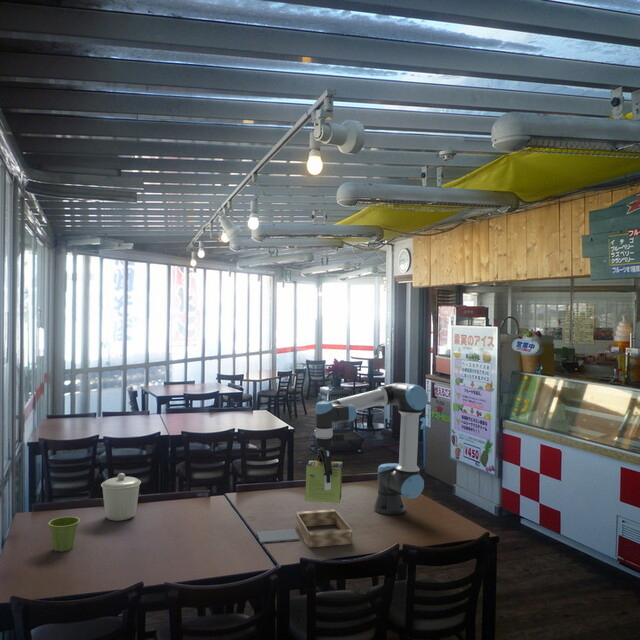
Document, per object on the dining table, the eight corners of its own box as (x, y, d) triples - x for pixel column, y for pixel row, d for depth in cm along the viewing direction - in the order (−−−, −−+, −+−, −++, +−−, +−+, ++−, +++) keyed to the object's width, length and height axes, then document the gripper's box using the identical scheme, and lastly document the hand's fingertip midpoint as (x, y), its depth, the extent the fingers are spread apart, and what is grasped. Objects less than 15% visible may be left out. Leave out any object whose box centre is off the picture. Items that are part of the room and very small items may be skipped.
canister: (92, 520, 270) (92, 475, 270) (118, 509, 287) (119, 467, 287) (122, 526, 263) (123, 480, 263) (148, 514, 280) (149, 470, 280)
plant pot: (59, 556, 228) (59, 528, 228) (41, 550, 234) (42, 522, 235) (85, 547, 238) (85, 519, 238) (68, 541, 244) (68, 514, 245)
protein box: (340, 503, 249) (341, 467, 249) (304, 501, 250) (305, 465, 250) (341, 496, 259) (342, 461, 259) (307, 494, 261) (308, 459, 261)
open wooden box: (334, 521, 271) (335, 509, 271) (353, 545, 242) (354, 531, 242) (295, 525, 267) (295, 512, 267) (309, 549, 238) (309, 535, 238)
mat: (294, 530, 259) (294, 528, 260) (299, 540, 248) (299, 538, 248) (256, 533, 255) (256, 531, 255) (260, 543, 244) (260, 541, 244)
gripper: (309, 432, 266) (309, 478, 266) (322, 443, 242) (322, 494, 242) (325, 431, 268) (325, 477, 268) (339, 442, 244) (339, 493, 244)
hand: (324, 485), depth 255 cm, fingers closed on protein box, 12 cm apart
